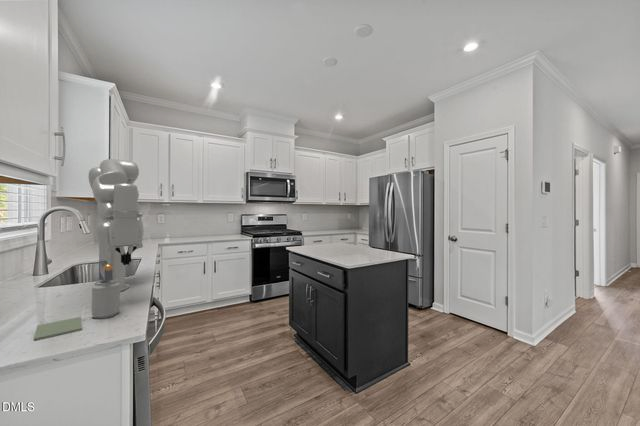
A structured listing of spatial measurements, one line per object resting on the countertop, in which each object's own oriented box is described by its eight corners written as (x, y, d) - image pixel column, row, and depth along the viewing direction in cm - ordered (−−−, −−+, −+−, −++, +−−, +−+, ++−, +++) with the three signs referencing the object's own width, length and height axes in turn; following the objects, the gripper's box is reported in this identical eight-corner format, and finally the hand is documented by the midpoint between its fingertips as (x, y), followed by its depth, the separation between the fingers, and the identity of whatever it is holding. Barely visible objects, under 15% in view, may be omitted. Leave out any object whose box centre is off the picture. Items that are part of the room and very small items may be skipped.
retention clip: (98, 302, 101) (98, 256, 101) (107, 301, 103) (107, 256, 103) (103, 319, 86) (103, 265, 86) (113, 317, 87) (113, 264, 87)
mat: (37, 327, 83) (37, 325, 83) (80, 318, 90) (80, 316, 90) (33, 340, 74) (33, 338, 74) (81, 330, 81) (82, 328, 81)
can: (113, 309, 98) (113, 276, 98) (123, 313, 94) (123, 279, 94) (88, 316, 91) (88, 281, 91) (97, 321, 88) (97, 284, 87)
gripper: (146, 216, 110) (147, 260, 110) (99, 216, 100) (100, 265, 100) (150, 216, 105) (151, 263, 105) (101, 216, 95) (101, 268, 94)
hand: (126, 264), depth 102 cm, fingers closed
